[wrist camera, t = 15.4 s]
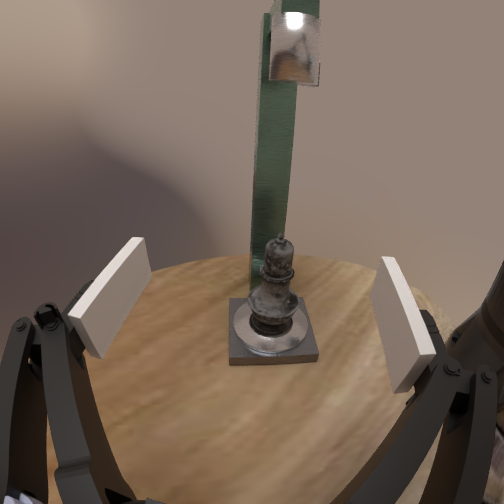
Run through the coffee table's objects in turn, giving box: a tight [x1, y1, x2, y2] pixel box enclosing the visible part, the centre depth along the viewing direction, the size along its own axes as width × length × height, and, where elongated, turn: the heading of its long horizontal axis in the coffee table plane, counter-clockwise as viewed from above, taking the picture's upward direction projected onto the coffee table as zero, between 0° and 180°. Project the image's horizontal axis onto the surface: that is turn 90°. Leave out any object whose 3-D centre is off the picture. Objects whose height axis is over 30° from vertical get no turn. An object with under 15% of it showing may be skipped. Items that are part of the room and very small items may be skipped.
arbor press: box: [229, 0, 321, 365], centre depth 25 cm, size 10×17×46 cm, turn 3°
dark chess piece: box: [248, 232, 300, 338], centre depth 30 cm, size 6×6×12 cm
